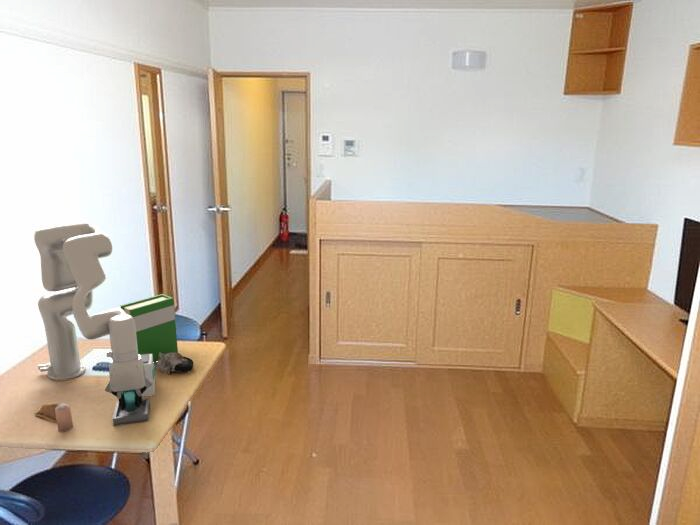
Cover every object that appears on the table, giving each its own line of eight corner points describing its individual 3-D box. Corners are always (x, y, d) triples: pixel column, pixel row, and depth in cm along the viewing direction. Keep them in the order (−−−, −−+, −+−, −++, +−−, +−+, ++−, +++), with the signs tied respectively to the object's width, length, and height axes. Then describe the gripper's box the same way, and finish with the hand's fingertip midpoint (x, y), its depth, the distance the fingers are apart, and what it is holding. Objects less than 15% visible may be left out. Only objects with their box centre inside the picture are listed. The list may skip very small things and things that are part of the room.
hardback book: (137, 369, 198) (130, 310, 192) (127, 363, 203) (120, 305, 196) (178, 353, 212) (173, 297, 205) (167, 348, 216) (162, 293, 210)
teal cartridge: (125, 405, 169) (122, 384, 167) (138, 404, 170) (136, 383, 168) (124, 412, 165) (121, 391, 163) (137, 410, 166) (135, 389, 164)
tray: (113, 426, 162) (112, 418, 162) (117, 409, 172) (116, 402, 171) (147, 421, 165) (147, 414, 164) (149, 404, 174) (149, 398, 174)
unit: (121, 399, 177) (117, 365, 174) (124, 388, 185) (120, 355, 181) (155, 395, 180) (151, 362, 177) (156, 384, 188) (153, 352, 184)
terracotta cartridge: (56, 432, 159) (53, 410, 157) (59, 425, 162) (56, 403, 160) (71, 430, 160) (68, 408, 158) (74, 423, 164) (70, 401, 162)
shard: (57, 424, 164) (56, 419, 163) (30, 428, 161) (29, 423, 161) (65, 406, 174) (64, 402, 173) (39, 410, 171) (38, 405, 171)
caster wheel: (195, 373, 201) (176, 381, 192) (175, 361, 206) (155, 368, 197) (199, 358, 199) (179, 365, 191) (178, 346, 204) (158, 352, 195)
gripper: (93, 362, 157) (101, 416, 162) (153, 356, 161) (158, 408, 166) (97, 352, 164) (104, 404, 169) (154, 346, 168) (159, 397, 173)
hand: (131, 406), depth 168 cm, fingers closed on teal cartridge, 4 cm apart
